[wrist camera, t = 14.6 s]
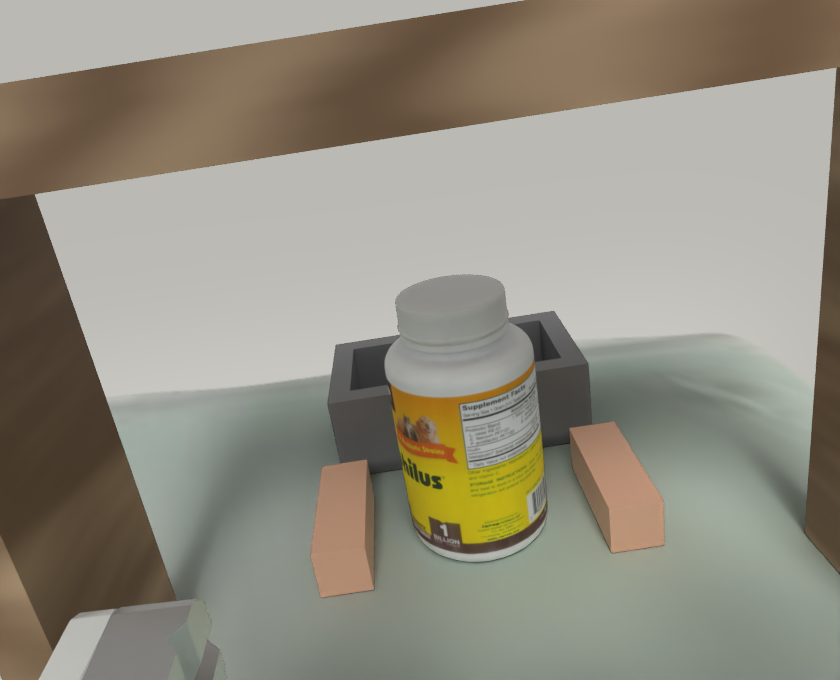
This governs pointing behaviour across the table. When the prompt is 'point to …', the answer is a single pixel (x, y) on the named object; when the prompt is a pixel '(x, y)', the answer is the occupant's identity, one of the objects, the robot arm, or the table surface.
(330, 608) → the table surface
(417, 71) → the tunnel
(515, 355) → the supplement bottle
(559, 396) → the box
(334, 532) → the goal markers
